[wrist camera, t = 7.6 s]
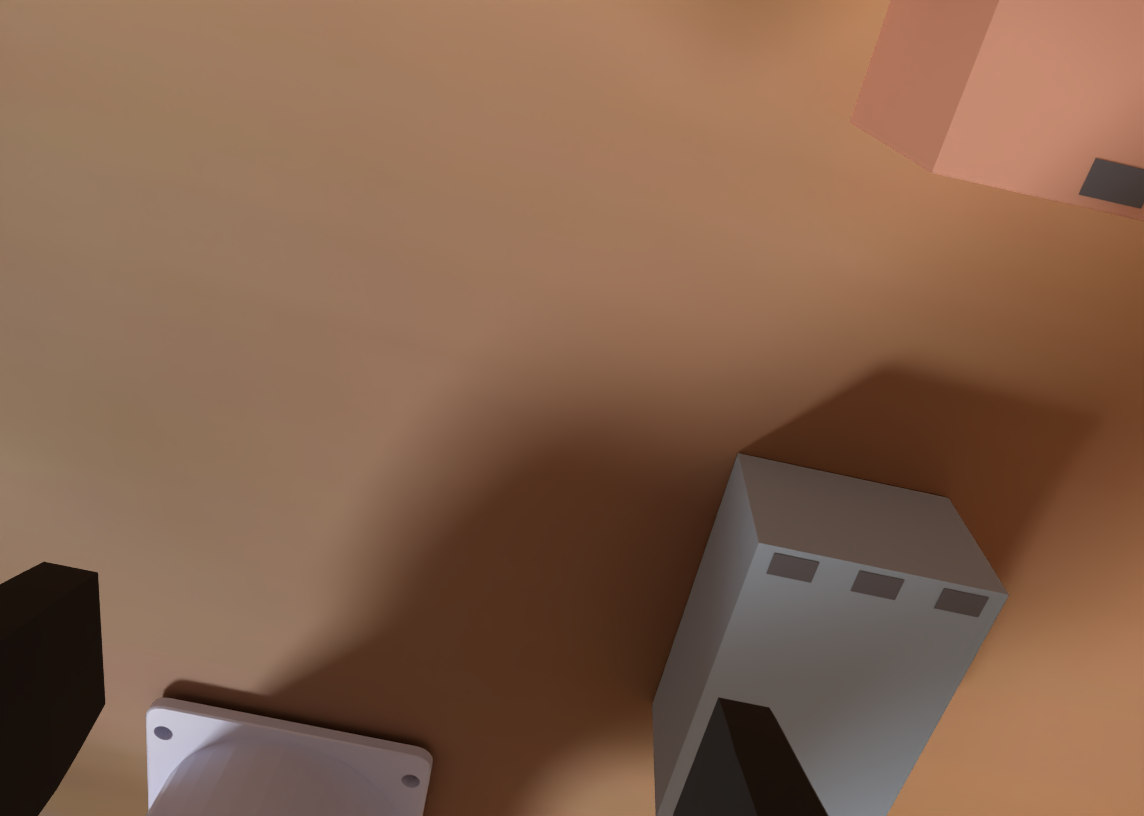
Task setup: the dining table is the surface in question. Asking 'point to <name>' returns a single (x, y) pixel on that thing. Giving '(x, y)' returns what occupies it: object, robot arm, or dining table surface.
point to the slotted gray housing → (826, 628)
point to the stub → (1015, 96)
